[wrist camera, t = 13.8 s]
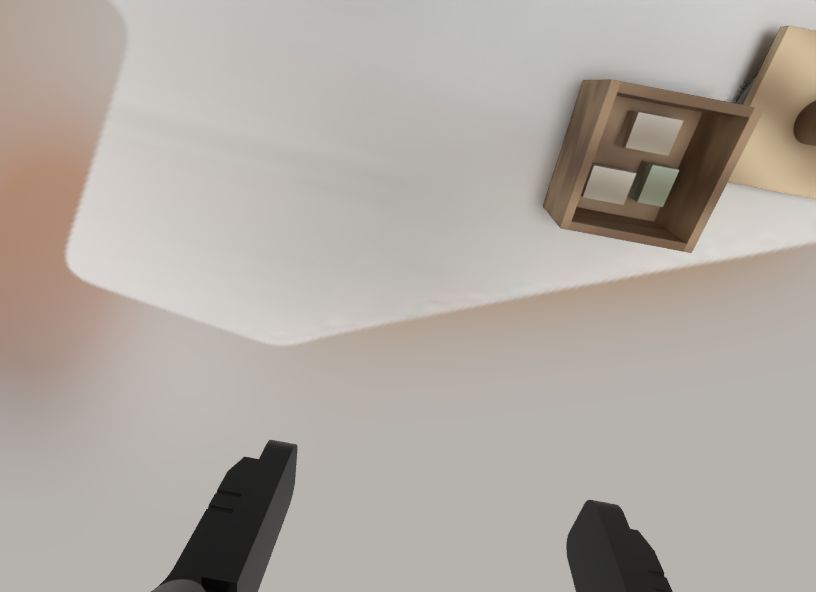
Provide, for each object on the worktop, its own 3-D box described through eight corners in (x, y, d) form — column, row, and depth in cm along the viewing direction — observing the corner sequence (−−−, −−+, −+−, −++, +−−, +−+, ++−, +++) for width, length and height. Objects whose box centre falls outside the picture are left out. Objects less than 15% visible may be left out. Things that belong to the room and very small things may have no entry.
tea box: (583, 80, 32) (611, 79, 26) (710, 104, 32) (764, 109, 26) (543, 206, 36) (560, 228, 31) (654, 227, 36) (691, 252, 31)
